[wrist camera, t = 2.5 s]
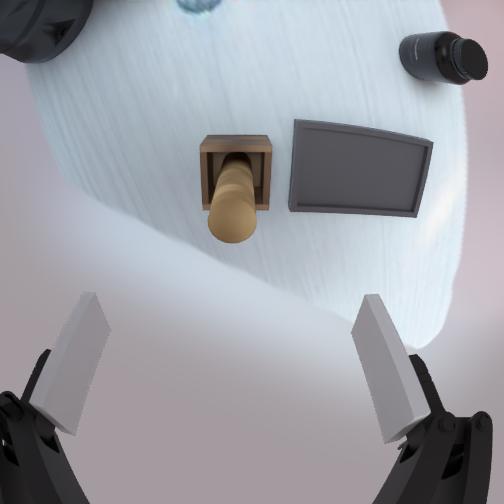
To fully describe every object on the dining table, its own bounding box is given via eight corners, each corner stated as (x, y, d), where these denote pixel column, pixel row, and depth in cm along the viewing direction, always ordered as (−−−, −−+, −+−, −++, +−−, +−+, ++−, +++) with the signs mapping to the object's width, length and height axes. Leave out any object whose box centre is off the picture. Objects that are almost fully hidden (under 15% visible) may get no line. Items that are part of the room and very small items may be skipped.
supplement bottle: (389, 41, 25) (443, 33, 15) (424, 30, 23) (480, 25, 13) (410, 86, 28) (467, 95, 18) (443, 73, 27) (500, 81, 17)
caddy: (209, 189, 37) (202, 210, 31) (207, 135, 33) (199, 145, 27) (265, 189, 37) (268, 210, 32) (267, 135, 33) (271, 145, 28)
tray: (288, 206, 38) (290, 211, 37) (294, 119, 32) (297, 120, 30) (411, 212, 39) (416, 217, 38) (426, 139, 33) (433, 142, 31)
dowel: (222, 177, 35) (209, 243, 22) (222, 150, 33) (206, 200, 20) (251, 177, 35) (255, 243, 22) (251, 150, 33) (257, 200, 20)
